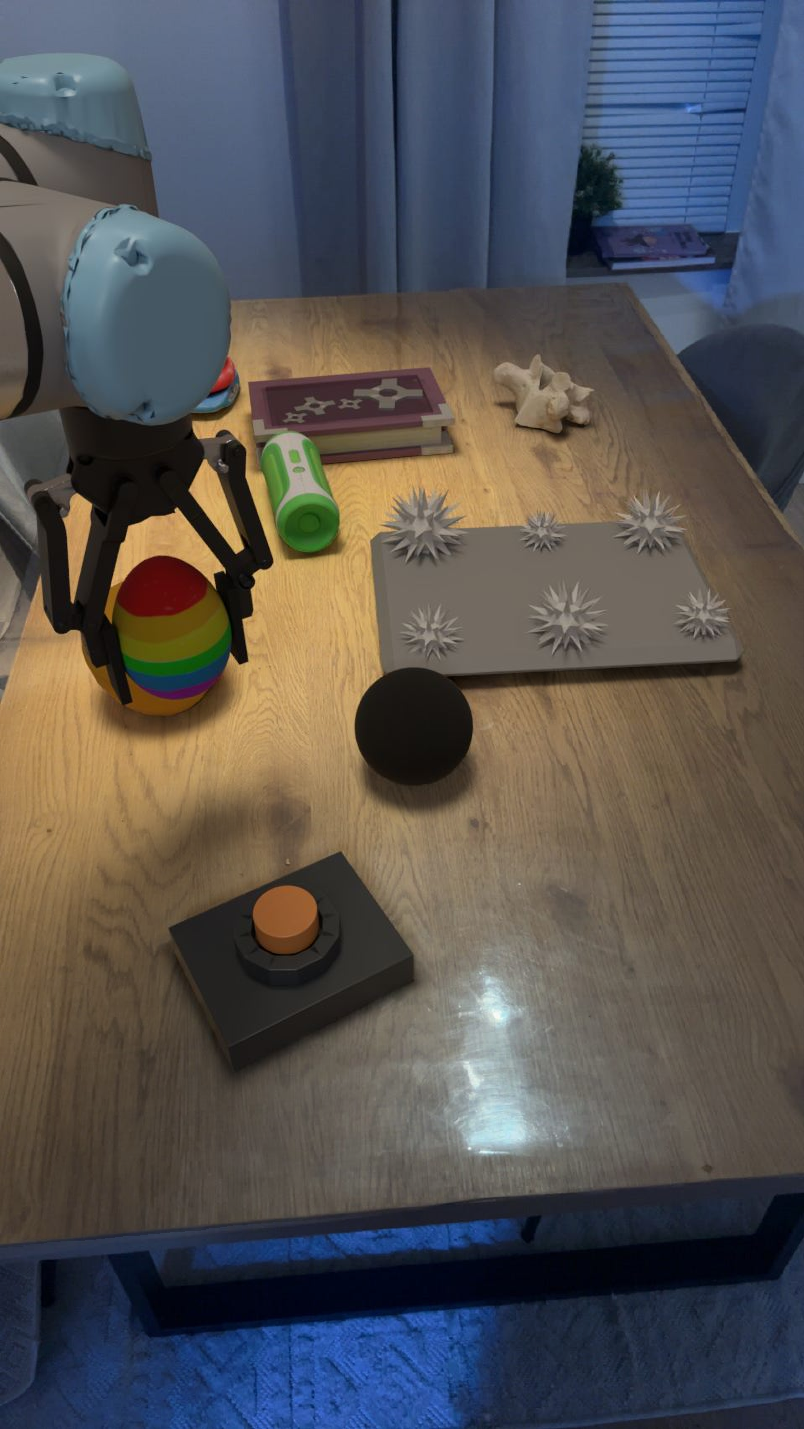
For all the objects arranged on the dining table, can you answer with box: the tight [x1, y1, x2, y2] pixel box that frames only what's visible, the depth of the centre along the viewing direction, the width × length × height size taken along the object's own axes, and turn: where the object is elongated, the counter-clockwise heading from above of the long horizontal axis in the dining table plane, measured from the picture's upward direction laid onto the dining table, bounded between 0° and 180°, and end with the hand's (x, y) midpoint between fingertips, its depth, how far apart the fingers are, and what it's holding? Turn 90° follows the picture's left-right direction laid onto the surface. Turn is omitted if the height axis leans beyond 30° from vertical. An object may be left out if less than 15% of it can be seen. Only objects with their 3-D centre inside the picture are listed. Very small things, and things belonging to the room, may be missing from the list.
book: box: [247, 366, 456, 471], centre depth 134 cm, size 25×16×5 cm, turn 100°
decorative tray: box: [369, 482, 745, 678], centre depth 103 cm, size 35×26×10 cm
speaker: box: [261, 431, 341, 553], centre depth 118 cm, size 18×7×8 cm, turn 13°
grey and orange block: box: [167, 850, 415, 1073], centre depth 72 cm, size 14×11×5 cm
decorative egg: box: [112, 555, 232, 700], centre depth 71 cm, size 8×8×10 cm
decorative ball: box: [353, 667, 474, 787], centre depth 85 cm, size 10×10×10 cm
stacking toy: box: [191, 355, 241, 414], centre depth 137 cm, size 14×13×23 cm
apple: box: [80, 580, 208, 717], centre depth 93 cm, size 13×13×11 cm
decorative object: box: [492, 353, 595, 434], centre depth 136 cm, size 9×14×8 cm, turn 47°
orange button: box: [253, 886, 319, 955], centre depth 70 cm, size 4×4×2 cm
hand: (180, 672), depth 74 cm, fingers closed on decorative egg, 8 cm apart
